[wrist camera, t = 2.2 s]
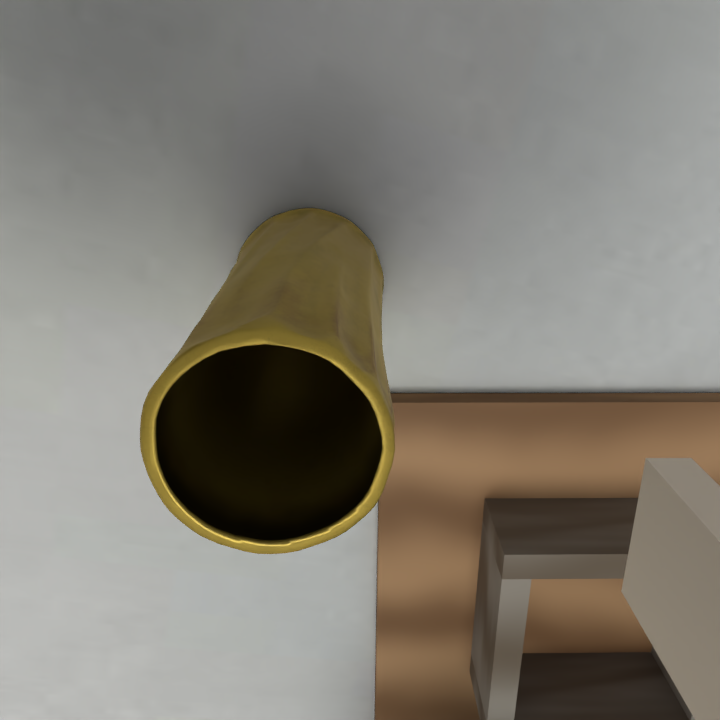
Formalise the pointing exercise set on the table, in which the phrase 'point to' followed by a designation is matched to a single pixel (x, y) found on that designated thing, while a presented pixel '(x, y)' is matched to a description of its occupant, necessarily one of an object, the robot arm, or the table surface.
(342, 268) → the vase
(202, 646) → the table surface
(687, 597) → the robot arm
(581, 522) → the socket board
